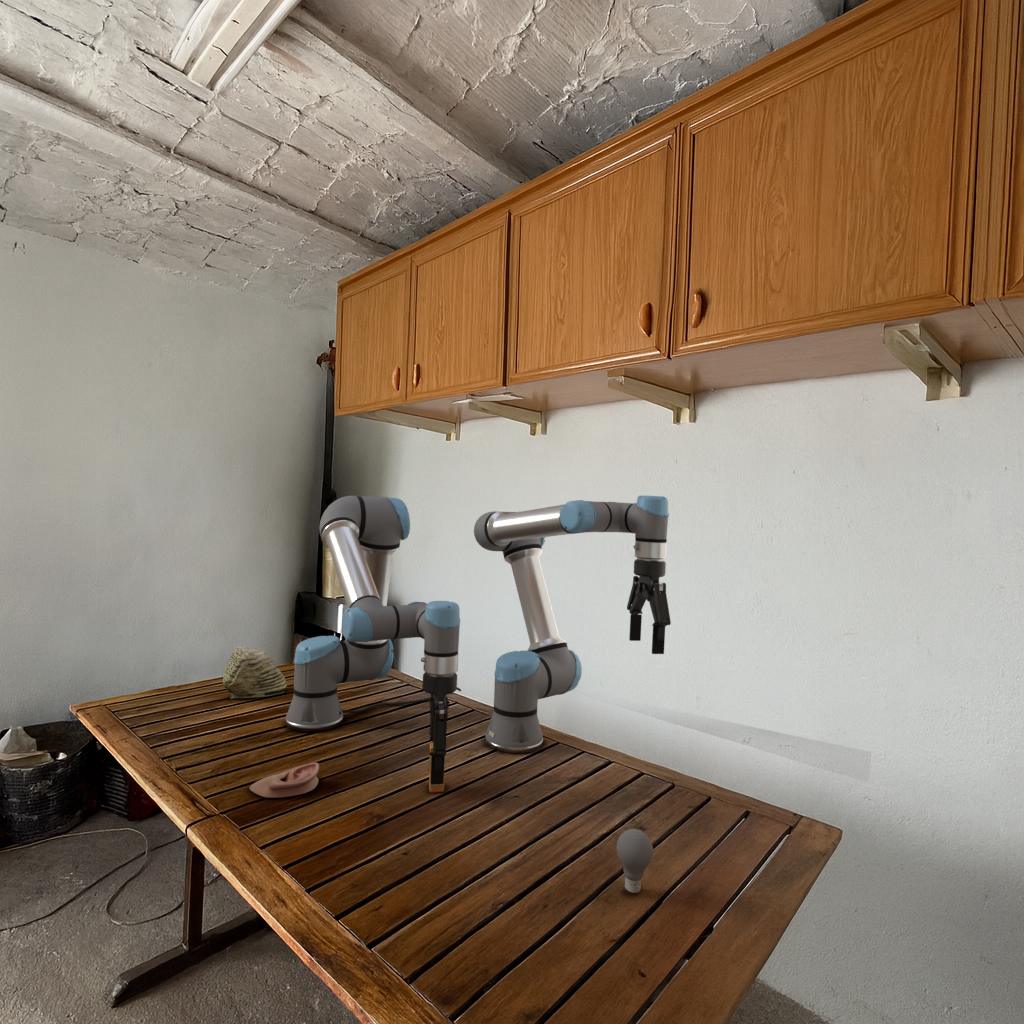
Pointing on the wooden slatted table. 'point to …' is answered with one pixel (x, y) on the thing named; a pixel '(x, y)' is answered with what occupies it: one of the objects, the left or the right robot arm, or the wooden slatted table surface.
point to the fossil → (252, 674)
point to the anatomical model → (288, 782)
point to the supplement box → (431, 787)
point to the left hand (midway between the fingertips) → (435, 777)
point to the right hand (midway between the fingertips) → (645, 646)
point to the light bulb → (634, 857)
